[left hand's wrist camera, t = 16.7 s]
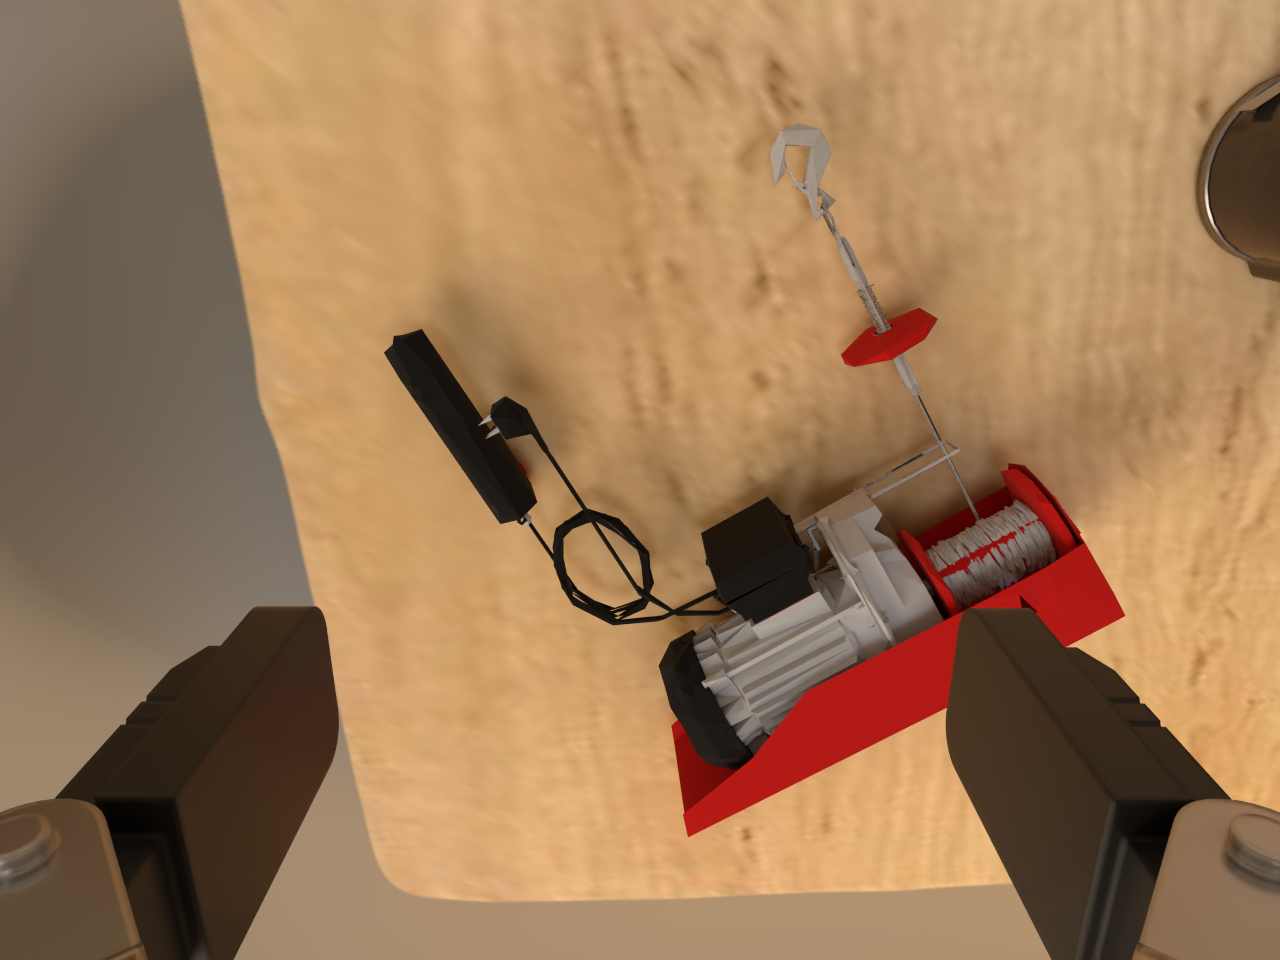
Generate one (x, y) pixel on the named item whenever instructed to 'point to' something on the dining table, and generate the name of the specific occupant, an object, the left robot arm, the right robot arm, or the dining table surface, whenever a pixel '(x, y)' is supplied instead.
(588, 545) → the dining table surface
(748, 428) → the dining table surface
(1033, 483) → the electric hoist
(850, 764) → the dining table surface
